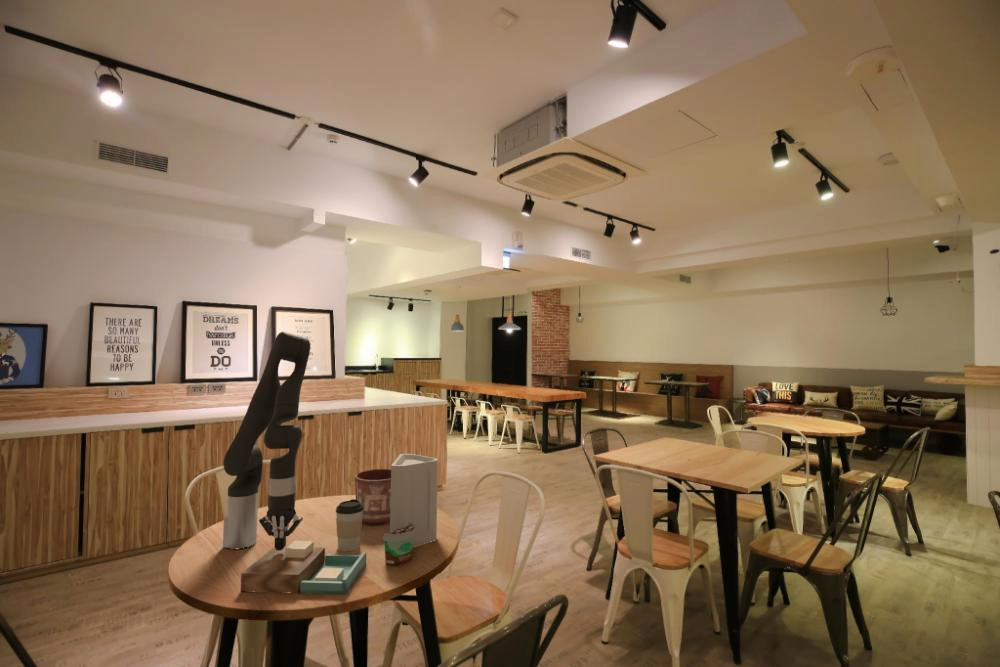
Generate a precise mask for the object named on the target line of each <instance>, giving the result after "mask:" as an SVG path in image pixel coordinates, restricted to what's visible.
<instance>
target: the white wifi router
mask: <svg viewBox="0 0 1000 667" xmlns="http://www.w3.org/2000/svg"><path fill="white" fill-rule="evenodd" d="M390 467H391V468H390V469H391V502H390V522H389V534H391V533H392V532H394V531H395V530H397V529H401V528H404V527H407V526H409V523H412V524H414V526H415V528H416V535H415V536H414V541H413V548H416V547H415V546H417V547H419V546H418V545H420V546H422V545H421V544H424V543H427V542H430V541H433V540H437V528H438V527H437V526H438V525H437V524H438V523H437V522H438V520H437V518H438V516H437V515H438V478H439V477H438V473H439V459H438V458H436V457H431V456H426V455H420V454H414V453H401V454H399V455H398V456H397V458H396V459H395V460H394V461H393V462H392V464H391V466H390ZM430 543H431V542H430ZM427 544H428V543H427ZM424 545H425V544H424Z"/></svg>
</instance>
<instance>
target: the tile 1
mask: <svg viewBox="0 0 1000 667" xmlns="http://www.w3.org/2000/svg"><path fill="white" fill-rule="evenodd" d="M314 544H315V543H314V541H313V540H293V541H292V542H291V543H290V544H289V545H288V546H286V547H287V548H286V549H285V557H291V558H305V557H306V556H307V555H308V554H309V553H310V552H311V551H312V550H313V549H314V547H315V546H314Z"/></svg>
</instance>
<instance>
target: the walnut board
mask: <svg viewBox="0 0 1000 667" xmlns="http://www.w3.org/2000/svg"><path fill="white" fill-rule="evenodd" d="M287 547H288V546H285V547H284V549H283V550H276V548H275V545H274V546H273V547H272V548H270V549H269V550H268V551H267V552H266V553H264V554H263V555H262V556H261V557H259V558H258V559H257V560H256V561H254V562H253V563H252V564H251V565H250V566H248V567H246V569H244V570H243V571H242V572H241V574H240V575H241V576H240V592H241V591H255V592H254V593H264V592H285V593H284V594H287V593H286V592H291V593H290V594H300V582H301V581H309V580H310V579H311V578H312V577H313V576H314V575H315V573H316V572H317V571H318V570H319V569H320V568H321V567H322V566H323V565H324V563H325V555H326V547H315V546H314V549H313V550H312V551H311V552H310V553H309V554H308V555H307V556H306V557H305V558H291V557H285V549H286V548H287Z"/></svg>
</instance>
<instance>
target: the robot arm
mask: <svg viewBox="0 0 1000 667" xmlns="http://www.w3.org/2000/svg"><path fill="white" fill-rule="evenodd" d="M310 352H311V342H310V340H309V339H308V338H307V337H304V336H300V335H297V334H294V333H291V332H287V331H281V332H279V333H278V334H277V335H276V337H275V339H274V341H273V343H272V346H271V349H270V352H269V354H268V358H267V361H266V364H265V367H264V370H263V372H262V375H261V377H260V380H259V381H258V384H257V386H256V388H255V390H254V393H253V396H252V397H251V400H250V402H249V404H248V406H247V410H246V413H245V415H244V417H243V419H242V421H241V424H240V426H239V429H238V431H237V433H236V434H235V436H234V439H232V441H231V443H230V444H229V447H228V449H227V451H226V452H225V455H224V457H223V470H224V472H225V473H226V474H227V475H228V476H231V477H235V479H234V480H233V481H232V482H231V483H230V485H228V488H227V500H226V501H227V502H226V504H227V505H226V506H227V509H226V517H225V518H223V532H222V533H223V534H222V548H226V547H227V548H231V549H230V550H234V549H235V550H237V549H236V548H243V547H247V548H249V547H248V546H250V547H252V546H254V545H255V544H256V543H257V539H258V538H257V537H258V522H259V524H260V525H261V526H262V528H263V530H264V531H265V532H266V534H267V535H268V536H269V537H270V536H271V537H274V546H275V548H276V550H283V549H284V547H287V537H290V535H291V534H293V532H294V531H295V530H296V529H297V528H298V526H299V525H300V524H301V523H302V521H303V520H304V518H303V517H302V516H298V515H297V511H296V509H295V507H296V489H297V487H296V486H297V484H296V459H297V455H298V451H299V448H300V445H301V442H302V440H303V439H302V438H303V430H302V427H300V426H299V425H298V424H286V425H284V424H283V423H286V422H290V421H293V420H295V419H296V418H297V417H298V415H299V407H300V399H301V398H300V397H301V390H302V385H303V381H304V377H305V374H306V369H307V366H308V361H309V357H310ZM281 361H286V362H289V363H294V368H293V370H292V372H291V374H290V376H288V377H287V378H286V379H285V380H284V382H282V384H281V382H280V377H279V376H280V375H279V368H280V367H279V366H280V363H281ZM264 432H265V433H264ZM263 433H264V436H263V444H264V446H265V447H266V448H267V449H270V450H281V449H283V450H286V449H288V451H287V453H285V454H281V455H278V456H277V455H276V456H274V457H272V458H271V459H270V462H269V481H268V489H267V490H268V492H267V511H266V515H264V516H263V517H261V518H259V520H258V510H259V487H260V485H261V482H262V478H263V477H262V475H263V462H264V456H263V453H262V450H261V448H260V446H257V445H256V443H257V441H258V440H259V438H260V436H261V435H262V434H263ZM291 522H292V524H291V526H290V523H291ZM253 544H254V545H253ZM251 545H252V546H251ZM227 548H226V549H227ZM243 549H244V548H243Z"/></svg>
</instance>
